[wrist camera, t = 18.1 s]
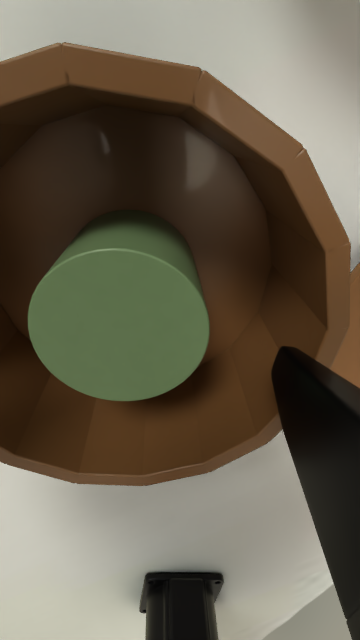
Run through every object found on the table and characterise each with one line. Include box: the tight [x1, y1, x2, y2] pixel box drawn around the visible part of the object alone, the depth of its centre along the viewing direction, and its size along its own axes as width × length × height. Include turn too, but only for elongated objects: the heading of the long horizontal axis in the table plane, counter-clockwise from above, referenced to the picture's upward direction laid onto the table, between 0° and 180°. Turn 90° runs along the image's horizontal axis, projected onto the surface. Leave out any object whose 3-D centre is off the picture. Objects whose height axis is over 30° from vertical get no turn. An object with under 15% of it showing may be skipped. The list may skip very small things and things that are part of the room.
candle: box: [28, 210, 210, 401], centre depth 11 cm, size 5×5×4 cm
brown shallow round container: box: [0, 42, 351, 486], centre depth 11 cm, size 12×12×5 cm
